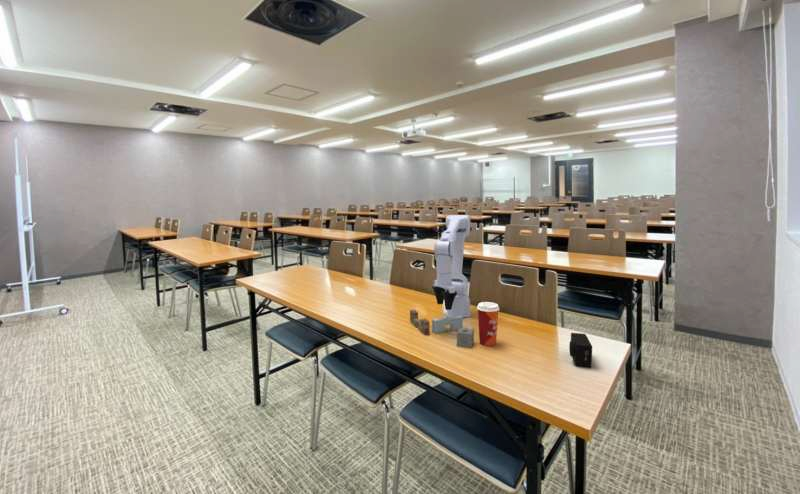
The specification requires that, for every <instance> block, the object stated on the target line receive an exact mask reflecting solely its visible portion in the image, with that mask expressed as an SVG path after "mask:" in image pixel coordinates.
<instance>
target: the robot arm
mask: <svg viewBox="0 0 800 494" xmlns="http://www.w3.org/2000/svg"><path fill="white" fill-rule="evenodd" d="M445 227H446V230H444V231H443V232H442V235H441V237H440V239H439V240H437V241H435V242H434V247H433V252H434V260H435V261H436V279H434V280H433V281H434V283H433V286H431V288H432V291H433V292H434V295H435V299H436V303H437V305H444V308H445V310H446V312H443V315H445V316H447V317H453V316H462V317H463V318H470V317H471V316H472V315H471V300H470V297H469V295H468V290H469V286H468V285H469V284H468V278H467V277H466V276H465V275H464V274H463V264H464V263H463V262H464V251H465V250H464V249H465V241H466V237H467V236H469V235H470V232H471V216H470V215H469V214H453V215H452V214H447V216H446V217H445Z"/></svg>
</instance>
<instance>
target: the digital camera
mask: <svg viewBox="0 0 800 494" xmlns="http://www.w3.org/2000/svg"><path fill="white" fill-rule="evenodd" d="M568 348H569V349H568V350H569V356H570V357H571V358H572V360H573V363H574V366H575V367H576V368H584V369H585V368H587V369H592V364H593V363H592V361H593V359H592V358H593V345H592V343H591V341H590V339H589V338H588V336H587V334H586V333H581V332H571V333H570V341H569V347H568Z"/></svg>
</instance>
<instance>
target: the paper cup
mask: <svg viewBox="0 0 800 494" xmlns="http://www.w3.org/2000/svg"><path fill="white" fill-rule="evenodd" d="M476 309H477V319H478V338H479V339H478V340H479V344H481V345H482V346H485V347H493V346H495V345H496V344H497V336H498V335H497V333H498V325H499V324H498V323H499V322H498V321H499V311H500V307H499V305H498V303H496V302H491V301H481V302H479V303H478V304H477V306H476Z"/></svg>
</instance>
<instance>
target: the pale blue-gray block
mask: <svg viewBox="0 0 800 494" xmlns="http://www.w3.org/2000/svg"><path fill="white" fill-rule="evenodd" d="M463 318H464V317H462V316H453V317H448V316H447V317H440V318H432V319H431V325H432V326H431V331H432V333H433V334H441V333H445V326H449V327H450V328H449V329H450V330H451V331H452V332H455V331H458V330H459V328H464V327H463V321H464V319H463Z"/></svg>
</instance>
